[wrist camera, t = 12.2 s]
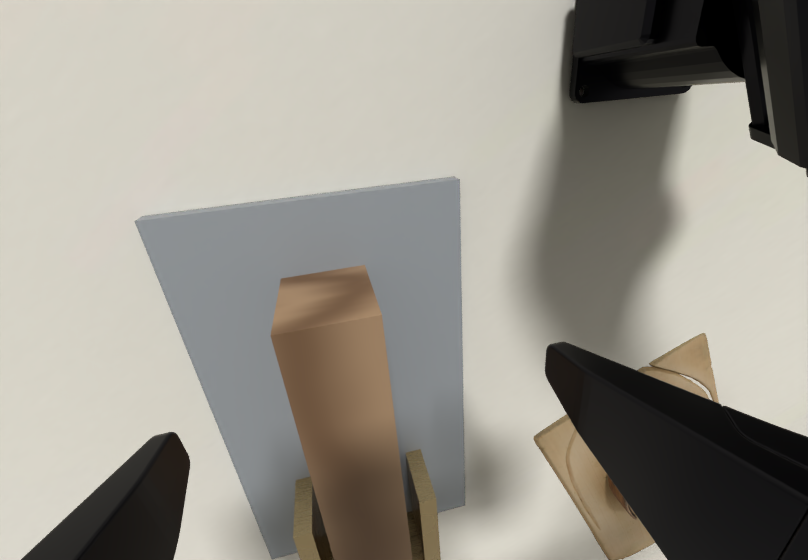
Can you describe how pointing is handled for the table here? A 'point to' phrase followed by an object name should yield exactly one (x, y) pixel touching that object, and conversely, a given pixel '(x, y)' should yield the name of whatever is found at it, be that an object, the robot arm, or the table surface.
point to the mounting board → (254, 312)
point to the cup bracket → (420, 519)
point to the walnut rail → (344, 409)
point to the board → (591, 482)
